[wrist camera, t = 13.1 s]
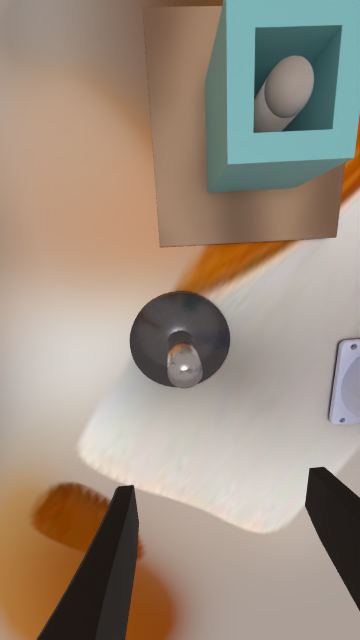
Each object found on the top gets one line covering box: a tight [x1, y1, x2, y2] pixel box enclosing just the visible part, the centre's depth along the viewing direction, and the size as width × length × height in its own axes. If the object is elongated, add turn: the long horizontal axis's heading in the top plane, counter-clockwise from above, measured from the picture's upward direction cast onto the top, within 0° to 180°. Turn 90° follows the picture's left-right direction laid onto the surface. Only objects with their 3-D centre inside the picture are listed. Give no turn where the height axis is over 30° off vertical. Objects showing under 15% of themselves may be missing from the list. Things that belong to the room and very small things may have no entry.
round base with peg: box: [130, 291, 230, 388], centre depth 16 cm, size 8×8×6 cm
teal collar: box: [205, 0, 360, 193], centre depth 12 cm, size 6×6×5 cm
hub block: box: [143, 6, 345, 247], centre depth 12 cm, size 12×12×6 cm
